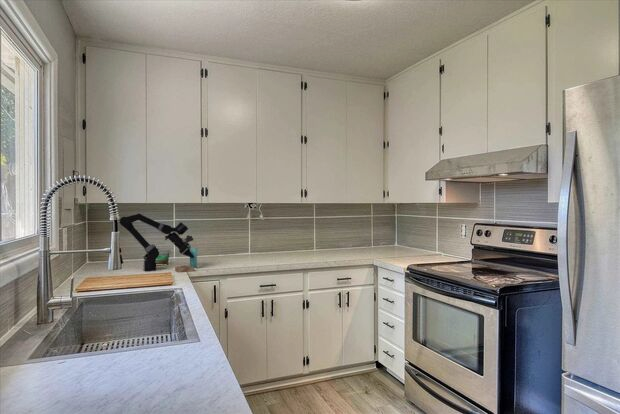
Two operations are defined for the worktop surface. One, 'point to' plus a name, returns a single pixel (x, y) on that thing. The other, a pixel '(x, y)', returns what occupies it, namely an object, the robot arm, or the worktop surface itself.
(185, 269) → the socket plate
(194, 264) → the peg
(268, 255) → the worktop surface
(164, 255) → the food container
